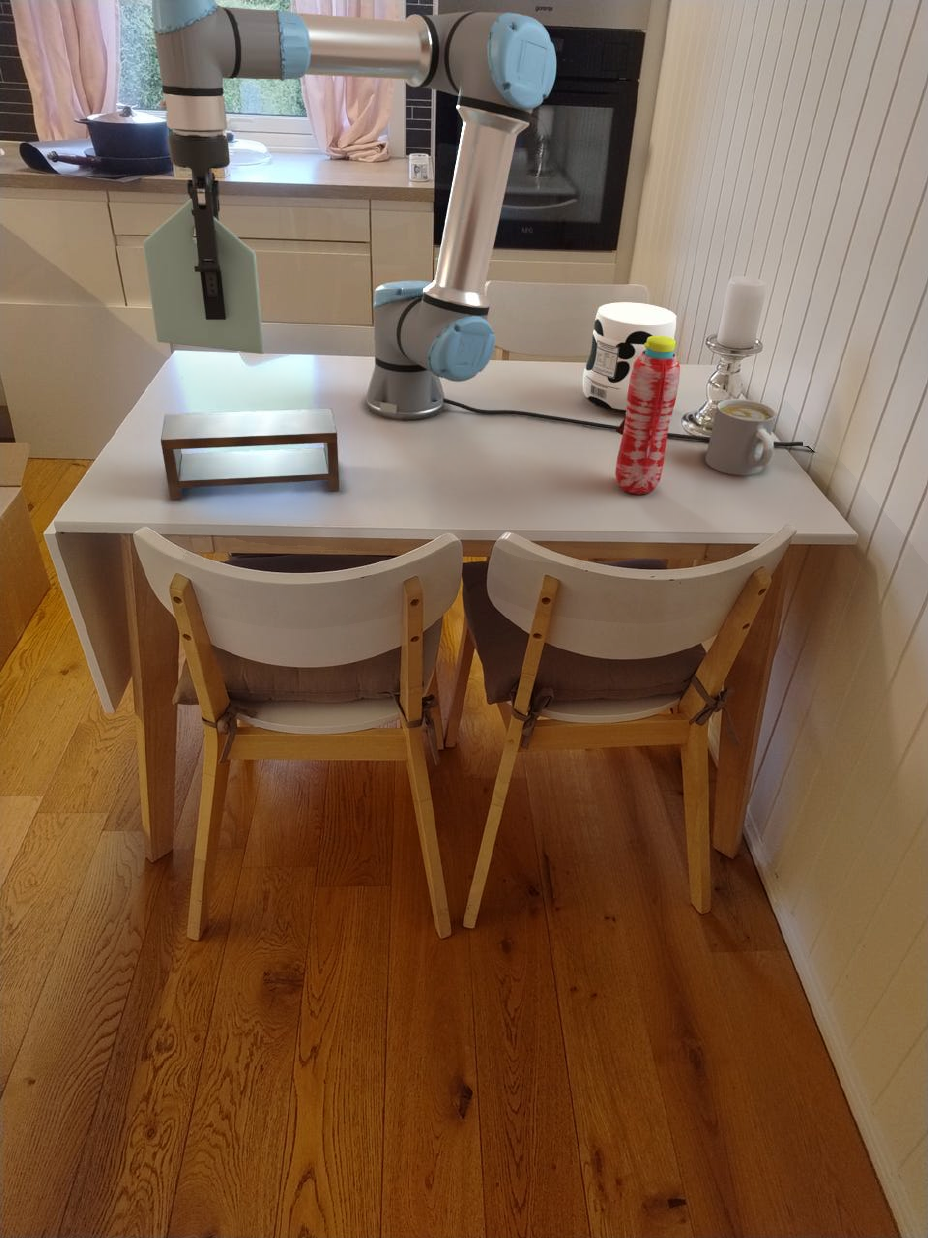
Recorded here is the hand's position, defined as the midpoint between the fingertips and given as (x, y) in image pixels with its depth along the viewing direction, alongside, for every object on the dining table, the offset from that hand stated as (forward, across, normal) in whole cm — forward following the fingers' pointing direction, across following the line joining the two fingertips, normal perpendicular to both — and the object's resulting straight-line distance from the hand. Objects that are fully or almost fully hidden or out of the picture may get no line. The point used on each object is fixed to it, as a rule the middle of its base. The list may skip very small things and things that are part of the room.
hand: (217, 309), depth 126 cm
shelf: (+27, +1, +3) cm, 27 cm away
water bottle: (+27, +9, +65) cm, 71 cm away
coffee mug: (+27, +4, +86) cm, 90 cm away
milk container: (+27, -26, +76) cm, 85 cm away
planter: (+5, -1, 0) cm, 5 cm away
